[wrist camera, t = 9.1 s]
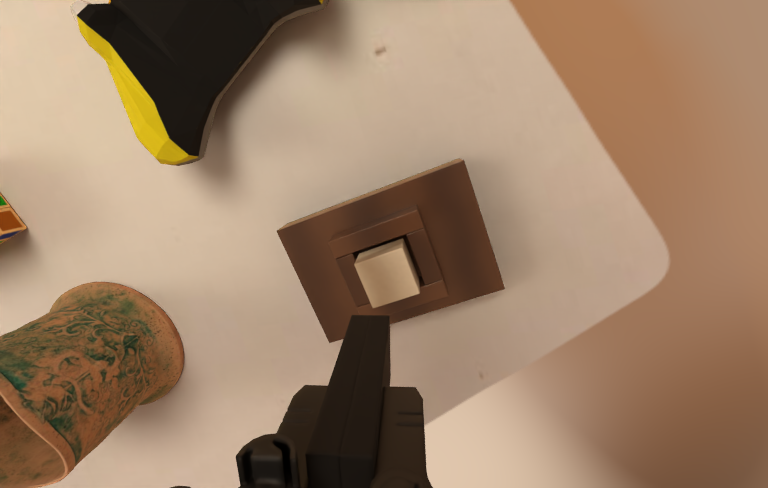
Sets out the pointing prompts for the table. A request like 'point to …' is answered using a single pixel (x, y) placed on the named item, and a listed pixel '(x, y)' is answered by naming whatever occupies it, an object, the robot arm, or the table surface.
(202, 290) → the table surface
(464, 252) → the key block
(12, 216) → the rubik's cube
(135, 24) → the gaming controller
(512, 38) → the table surface
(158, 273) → the table surface
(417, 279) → the high key
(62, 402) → the mug
